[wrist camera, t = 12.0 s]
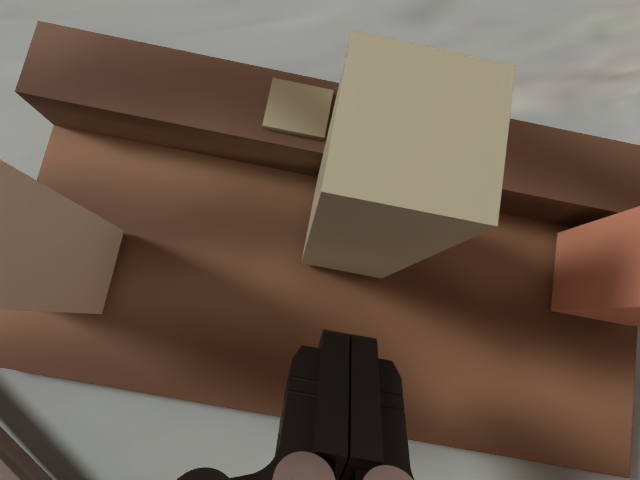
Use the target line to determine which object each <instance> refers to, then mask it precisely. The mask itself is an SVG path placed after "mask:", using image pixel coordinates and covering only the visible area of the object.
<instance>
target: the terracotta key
mask: <svg viewBox="0 0 640 480" xmlns="http://www.w3.org/2000/svg"><path fill="white" fill-rule="evenodd" d="M551 311H554V312H559V313H565V314H570V315H575V316H580V317H586V318H591V319H596V320H601V321H607V322H612V323H617V324H622V325H630V326H640V206H638V207H635V208H632V209H629V210H626V211H623V212H620V213H617V214H614V215H611V216H608V217H605V218H602V219H599V220H596V221H593V222H589V223H586V224H583V225H580V226H577V227H574V228H571V229H568V230H565V231H562V232H559V233H557V243H556V255H555V266H554V277H553V289H552V300H551Z"/></svg>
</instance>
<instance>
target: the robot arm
mask: <svg viewBox="0 0 640 480" xmlns="http://www.w3.org/2000/svg"><path fill="white" fill-rule="evenodd" d="M177 480H414V478H413V475H412V472H411V468H410V460H409V450H408V439H407V429H406V419H405V413H404V399H403V389H402V379H401V376H400V374H399V372H398V370H397V368H396V367H395V365H394V363H393V361H390V360H385V359H379V358H378V343H377V339H376V338H371V337H365V336H360V335H354V334H350V335H349V334H348V333H342V332H337V331H331V330H326V329H323V331H322V334H321V338H320V342H319V345H318V348H316V347H310V346H305V345H302V346H301V347H300V348H299V350H298V351H297V353H296V354H295V355H294V357H293V358H292V362H291V366H290V371H289V375H288V380H287V384H286V389H285V393H284V400H283V406H282V413H281V420H280V427H279V433H278V439H277V446H276V452H275V457H274V459H273V460H272V461H271V463H270V464H269V465H267V466H266V467H265V468H264V469H262V470H260V471H258V472H256V473H253V474H249V475H245V476H239V477H234V478H228V477H227V476H226V475H225V474H224V473H222V472H221V471H219V470H216V469H213V468H197V469H194V470H191V471H189V472H187V473H185V474H184V475H182V476H181V477H180V478H178V479H177Z"/></svg>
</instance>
